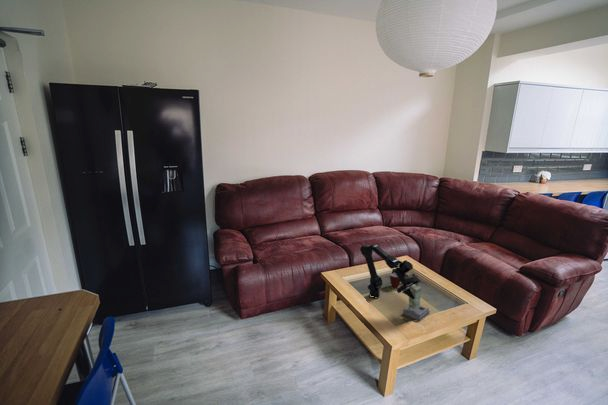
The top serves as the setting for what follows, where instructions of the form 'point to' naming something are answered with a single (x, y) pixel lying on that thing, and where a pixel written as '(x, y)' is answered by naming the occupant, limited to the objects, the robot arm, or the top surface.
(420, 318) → the footing
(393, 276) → the mug
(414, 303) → the pillar
